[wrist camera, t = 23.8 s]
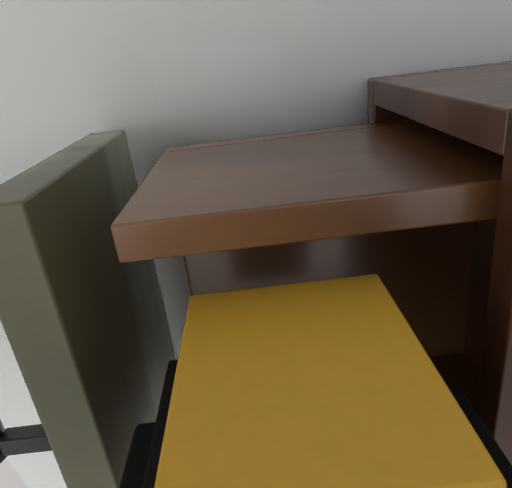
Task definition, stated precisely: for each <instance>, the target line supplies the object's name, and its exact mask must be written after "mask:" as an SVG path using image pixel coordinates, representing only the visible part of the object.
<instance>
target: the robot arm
mask: <svg viewBox="0 0 512 488" xmlns="http://www.w3.org/2000/svg"><path fill="white" fill-rule="evenodd" d="M177 363H178V360H170V361H169V363H168V366H167V371H166V375H165V380H164V385H163V389H162V394H161V399H160V403H159V408H158V413H157V417H156V422H150V423H142V424H138V425H137V426H136V428H135V431H134V434H133V438H132V441H131V445H130V449H129V453H128V456H127V460H126V464H125V468H124V471H123V475H122V479H121V483H120V487H119V488H154V486H155V481H156V476H157V470H158V465H159V460H160V454H161V449H162V443H163V438H164V433H165V427H166V422H167V416H168V411H169V406H170V400H171V395H172V390H173V384H174V379H175V373H176V368H177ZM449 390H450V392H451V393H452V395H453V396H454V398H455V400H456V401H457V403H458V404H459V406H460V408H461V409H462V411H463V412H464V414H465V416H466V417H467V419H468V421H469V422H470V424H471V425H472V427H473V429H474V430H475V432H476V433H477V435H478V437H479V438H480V440H481V441H482V443H483V445H484V446H485V448H486V449H487V451H488V453H489V454H490V456H491V458H492V459H493V461H494V462H495V464H496V466H497V467H498V469H499V470H500V472H501V474H502V475H503V477H504V478H505V480H506V484H507V488H512V465H511V464H510V462H509V460H508V459H507V457H506V456H505V454H504V453H503V451H502V450H501V448H500V447H499V445H498V444H497V442H496V441H495V439H494V438H493V436H492V435H491V433H490V432H489V430H488V428H487V427H486V425H485V424H484V422H483V421H482V419H481V418H480V416H479V415H478V413H477V412H476V410H475V409H474V407H473V406H472V404H471V403H470V401H469V400H468V398H467V396H466V395H465V394H464V393H463V391H462V390H461V389H459V388H458V387H455V388H449Z"/></svg>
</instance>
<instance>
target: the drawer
mask: <svg viewBox="0 0 512 488" xmlns="http://www.w3.org/2000/svg"><path fill="white" fill-rule="evenodd" d="M503 158H504V156H502V155H499V154H497V153H494V152H492V151H489V150H487V149H484V148H482V147H479V146H477V145H474V144H472V143H469V142H467V141H464V140H462V139H459V138H457V137H454V136H451V135H449V134H446V133H444V132H441V131H439V130H436V129H434V128H431V127H429V126H426V125H424V124H421V123H419V122H416V121H414V120H411V119H402V120H393V121H385V122H377V123H368V124H360V125H352V126H343V127H335V128H326V129H318V130H310V131H301V132H293V133H285V134H276V135H268V136H260V137H251V138H243V139H234V140H226V141H218V142H209V143H201V144H193V145H184V146H176V147H168V148H167V149H166V150H165V152H164V153H163V154H162V155H161V157H160V158H159V159H158V161H157V162H156V163H155V165H154V166H153V168H152V169H151V170H150V172H149V173H148V175H147V176H146V177H145V179H144V180H143V181H142V183H141V184H140V186H139V187H138V188H137V183H136V179H135V174H134V170H133V166H132V161H131V157H130V152H129V148H128V143H127V139H126V134H125V131H124V130H116V131H107V132H99V133H91V134H89V135H87V136H86V137H84V138H82V139H80V140H79V141H77V142H75V143H73V144H72V145H70V146H68V147H66V148H65V149H63V150H61V151H59V152H58V153H56V154H54V155H52V156H50V157H49V158H47V159H45V160H43V161H42V162H40V163H38V164H36V165H35V166H33V167H31V168H29V169H28V170H26V171H24V172H22V173H21V174H19V175H17V176H15V177H14V178H12V179H10V180H8V181H7V182H5V183H3V184H1V185H0V320H1V322H2V325H3V327H4V330H5V332H6V335H7V337H8V340H9V342H10V345H11V347H12V350H13V353H14V355H15V358H16V360H17V363H18V365H19V368H20V370H21V373H22V375H23V378H24V380H25V383H26V385H27V388H28V390H29V393H30V395H31V398H32V400H33V403H34V405H35V408H36V410H37V413H38V415H39V418H40V420H41V423H42V424H38V425H30V426H21V427H12V428H7V429H5V428H4V426H3V424H2V422H1V419H0V463H1V462H2V461H3V460H4V459H5V458H6V457H7V456H8V455H16V454H25V453H34V452H43V451H52V450H53V453H54V455H55V458H56V461H57V463H58V466H59V468H60V471H61V473H62V476H63V478H64V481H65V483H66V486H67V488H119V487H120V483H121V479H122V475H123V471H124V468H125V464H126V460H127V456H128V453H129V449H130V445H131V441H132V438H133V434H134V431H135V428H136V426H137V425H138V424H142V423H150V422H156V417H157V413H158V408H159V403H160V399H161V394H162V389H163V385H164V380H165V375H166V371H167V366H168V363H169V361H170V360H176V357H175V353H174V348H173V344H172V340H171V335H170V331H169V326H168V322H167V317H166V313H165V308H164V304H163V299H162V295H161V290H160V286H159V282H158V277H157V273H156V268H155V264H154V259H159V258H168V257H176V256H183V257H184V262H185V267H186V272H187V277H188V283H189V288H190V293H191V296H192V295H199V294H208V293H216V292H225V291H234V290H242V289H251V288H259V287H268V286H276V285H285V284H293V283H302V282H310V281H319V280H327V279H336V278H344V277H353V276H361V275H370V274H377V275H378V276H379V277H380V279H381V281H382V282H383V284H384V285H385V287H386V289H387V290H388V292H389V294H390V295H391V297H392V298H393V300H394V302H395V303H396V305H397V306H398V308H399V310H400V311H401V313H402V314H403V316H404V318H405V319H406V321H407V322H408V324H409V326H410V327H411V329H412V330H413V332H414V334H415V335H416V337H417V339H418V340H419V342H420V343H421V345H422V347H423V348H424V350H425V351H426V353H427V355H428V356H429V358H430V359H431V361H432V363H433V364H434V366H435V367H436V369H437V371H438V372H439V374H440V376H441V377H442V379H443V380H444V382H445V384H446V385H447V387H448V388H455V387H458V388H459V389H461V390H462V391H463V393H464V394H465V395H466V396H467V398H468V400H469V401H470V403H471V404H472V406H473V407H474V409H475V410H476V406H477V396H478V387H479V378H480V369H481V360H482V351H483V341H484V332H485V323H486V314H487V305H488V296H489V287H490V277H491V268H492V259H493V250H494V241H495V232H496V222H497V213H498V204H499V195H500V186H501V177H502V167H503Z"/></svg>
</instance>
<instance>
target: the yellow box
mask: <svg viewBox="0 0 512 488" xmlns="http://www.w3.org/2000/svg"><path fill="white" fill-rule="evenodd" d="M154 488H507V484H506V480H505V478H504V477H503V475H502V474H501V472H500V470H499V469H498V467H497V466H496V464H495V462H494V461H493V459H492V458H491V456H490V454H489V453H488V451H487V449H486V448H485V446H484V445H483V443H482V441H481V440H480V438H479V437H478V435H477V433H476V432H475V430H474V429H473V427H472V425H471V424H470V422H469V421H468V419H467V417H466V416H465V414H464V412H463V411H462V409H461V408H460V406H459V404H458V403H457V401H456V400H455V398H454V396H453V395H452V393H451V392H450V390H449V388H448V387H447V385H446V384H445V382H444V380H443V379H442V377H441V376H440V374H439V372H438V371H437V369H436V367H435V366H434V364H433V363H432V361H431V359H430V358H429V356H428V355H427V353H426V351H425V350H424V348H423V347H422V345H421V343H420V342H419V340H418V339H417V337H416V335H415V334H414V332H413V330H412V329H411V327H410V326H409V324H408V322H407V321H406V319H405V318H404V316H403V314H402V313H401V311H400V310H399V308H398V306H397V305H396V303H395V302H394V300H393V298H392V297H391V295H390V294H389V292H388V290H387V289H386V287H385V285H384V284H383V282H382V281H381V279H380V277H379V276H378V275H377V274H370V275H361V276H353V277H344V278H336V279H327V280H319V281H310V282H302V283H293V284H285V285H276V286H268V287H259V288H251V289H242V290H234V291H225V292H216V293H208V294H199V295H192V296H190V298H189V303H188V309H187V314H186V319H185V325H184V330H183V336H182V341H181V346H180V352H179V357H178V363H177V368H176V373H175V379H174V384H173V390H172V395H171V400H170V406H169V411H168V416H167V422H166V427H165V433H164V438H163V443H162V449H161V454H160V460H159V465H158V470H157V476H156V481H155V486H154Z"/></svg>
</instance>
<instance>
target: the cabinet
mask: <svg viewBox="0 0 512 488" xmlns="http://www.w3.org/2000/svg"><path fill="white" fill-rule="evenodd" d="M402 119H411V120H414V121H416V122H419V123H421V124H424V125H426V126H429V127H431V128H434V129H436V130H439V131H441V132H444V133H446V134H449V135H451V136H454V137H457V138H459V139H462V140H464V141H467V142H469V143H472V144H474V145H477V146H479V147H482V148H484V149H487V150H489V151H492V152H494V153H497V154H499V155H502V156H504V158H503V167H502V177H501V186H500V195H499V204H498V213H497V222H496V232H495V241H494V250H493V259H492V268H491V277H490V287H489V296H488V305H487V314H486V323H485V332H484V341H483V351H482V360H481V369H480V378H479V387H478V396H477V406H476V412H477V413H478V415H479V416H480V418H481V419H482V421H483V422H484V424H485V425H486V427H487V428H488V430H489V432H490V433H491V435H492V436H493V438H494V439H495V441H496V442H497V444H498V445H499V447H500V448H501V450H502V451H503V453H504V454H505V456H506V457H507V459H508V460H509V462H510V464H511V465H512V61H510V62H501V63H493V64H485V65H476V66H468V67H460V68H451V69H443V70H435V71H427V72H418V73H410V74H402V75H393V76H385V77H377V78H370V79H368V123H377V122H385V121H393V120H402Z"/></svg>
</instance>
